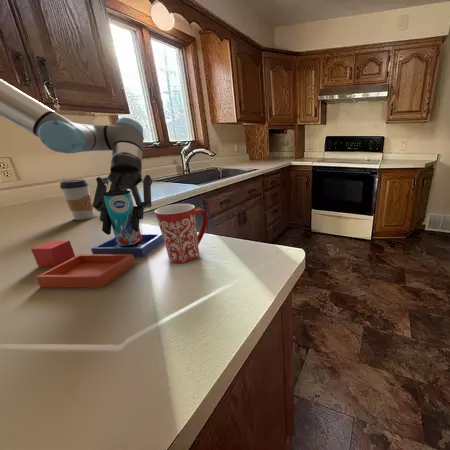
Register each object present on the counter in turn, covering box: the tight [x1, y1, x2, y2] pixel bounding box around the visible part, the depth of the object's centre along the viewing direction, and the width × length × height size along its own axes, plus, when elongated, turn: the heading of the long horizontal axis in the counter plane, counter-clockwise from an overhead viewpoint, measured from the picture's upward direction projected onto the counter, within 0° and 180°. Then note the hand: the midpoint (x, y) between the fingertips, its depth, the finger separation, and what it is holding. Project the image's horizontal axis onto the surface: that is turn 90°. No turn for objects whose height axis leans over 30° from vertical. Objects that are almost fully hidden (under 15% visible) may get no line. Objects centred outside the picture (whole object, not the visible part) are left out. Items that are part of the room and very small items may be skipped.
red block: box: [30, 240, 76, 268], centre depth 62 cm, size 5×5×5 cm
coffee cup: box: [59, 178, 95, 221], centre depth 97 cm, size 8×8×15 cm
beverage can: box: [103, 189, 142, 247], centre depth 67 cm, size 6×6×15 cm
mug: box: [154, 203, 209, 264], centre depth 64 cm, size 13×9×14 cm
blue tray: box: [90, 233, 164, 258], centre depth 70 cm, size 14×11×3 cm
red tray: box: [35, 253, 136, 288], centre depth 56 cm, size 14×11×3 cm
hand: (121, 230), depth 65 cm, fingers closed on beverage can, 6 cm apart
